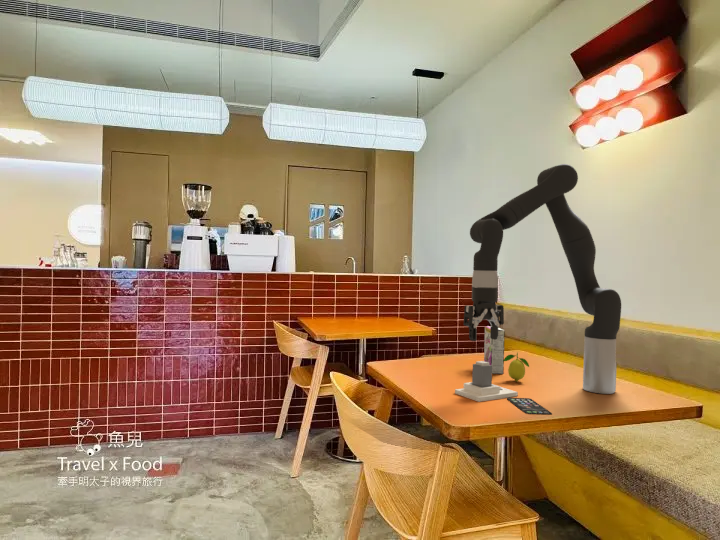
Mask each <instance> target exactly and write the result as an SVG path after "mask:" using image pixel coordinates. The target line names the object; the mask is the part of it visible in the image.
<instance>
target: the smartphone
mask: <svg viewBox="0 0 720 540" xmlns="http://www.w3.org/2000/svg"><path fill="white" fill-rule="evenodd" d="M506 401H508V402H509V401H510V402H509V403H510V404H512V405H513V406H514V407H516V408H517V409H519V410H520V411H521V412H522V413H524V414H526V415H546V416H548V415H553V412H551V411H549V410H548V409H547V408H545V407H544V406H542V405H541V404H539V403H538V402H536V401H535V400H534V399H532V398H530V397H529V398H528V397H508V398H506Z"/></svg>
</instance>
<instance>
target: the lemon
mask: <svg viewBox="0 0 720 540" xmlns="http://www.w3.org/2000/svg"><path fill="white" fill-rule="evenodd" d="M515 357H516V359H514V360H512V359H513V358H515ZM510 360H512V361H510ZM507 361H510V363H509V366H508V368H507V371H508V372H507V373H508V376H509V377H510V378H511V379H512V380H514V381H515V382H518V381H521V380H522V379H523V378H524V377H525V375H526V367H527V368H530V364H529V362H528V361H527V360H526V359H525V358H523V357H518V352H516V354H508V355H506V356H504V362H507ZM525 366H526V367H525Z"/></svg>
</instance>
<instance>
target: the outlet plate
mask: <svg viewBox="0 0 720 540" xmlns="http://www.w3.org/2000/svg"><path fill="white" fill-rule="evenodd" d="M454 394H456V395H459V396H460V397H461V396H462V397H463V398H467V399H470V400H472V401H476V402H477V403H479V402H486V401H493V400H494V401H495V400H500V399H507V398H515V397H518V394H519V392H518V391H515V390H512V389H510V388H509V389H508V388H506V387H502V386H500V385H497V384H493V383H492V386H491V387H483V388H481V387H478V386H475V385H472V381H470V382H463V388H458V389H457V388H455V389H454Z"/></svg>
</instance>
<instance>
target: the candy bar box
mask: <svg viewBox="0 0 720 540" xmlns="http://www.w3.org/2000/svg"><path fill="white" fill-rule="evenodd" d="M491 327H492V326H491V325H490V326H489V325H487V326H484V345H483V346H484V348H483V349H484V352H483V353H484V355H483V361H485V362H489V365H492V375H504V370H505V368H504V367H505V365H504V364H505V361H504V359H505V332H506V331H505V329H502V328H501V327H498V337H497V339H491V338H490V332H491Z"/></svg>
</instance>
